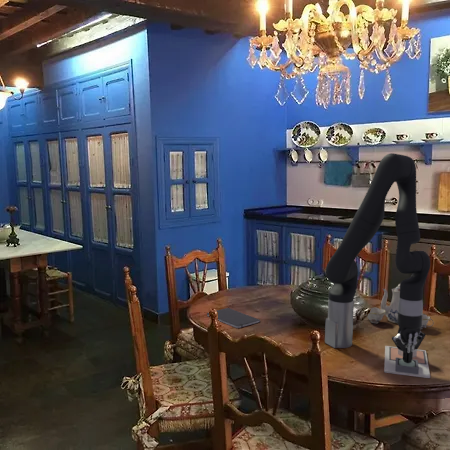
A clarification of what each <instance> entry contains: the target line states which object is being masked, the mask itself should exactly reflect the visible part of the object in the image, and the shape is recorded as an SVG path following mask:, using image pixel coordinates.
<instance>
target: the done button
mask: <svg viewBox="0 0 450 450" xmlns="http://www.w3.org/2000/svg"><path fill="white" fill-rule="evenodd" d="M399 365H401V366H409V367H415V362H414V361H412V362H411V363H406V362H404V361H403V359H401V360H399Z"/></svg>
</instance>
